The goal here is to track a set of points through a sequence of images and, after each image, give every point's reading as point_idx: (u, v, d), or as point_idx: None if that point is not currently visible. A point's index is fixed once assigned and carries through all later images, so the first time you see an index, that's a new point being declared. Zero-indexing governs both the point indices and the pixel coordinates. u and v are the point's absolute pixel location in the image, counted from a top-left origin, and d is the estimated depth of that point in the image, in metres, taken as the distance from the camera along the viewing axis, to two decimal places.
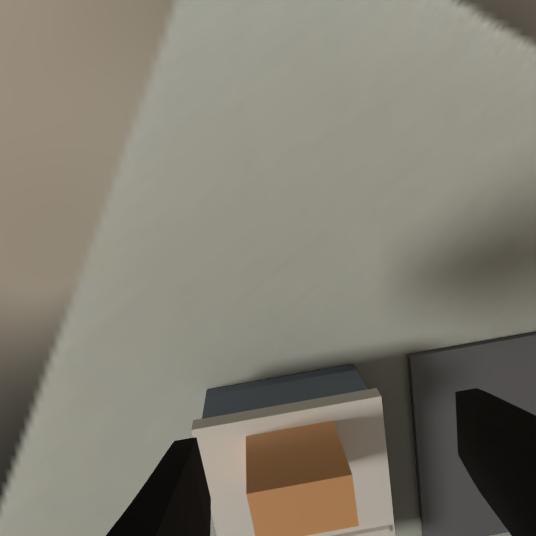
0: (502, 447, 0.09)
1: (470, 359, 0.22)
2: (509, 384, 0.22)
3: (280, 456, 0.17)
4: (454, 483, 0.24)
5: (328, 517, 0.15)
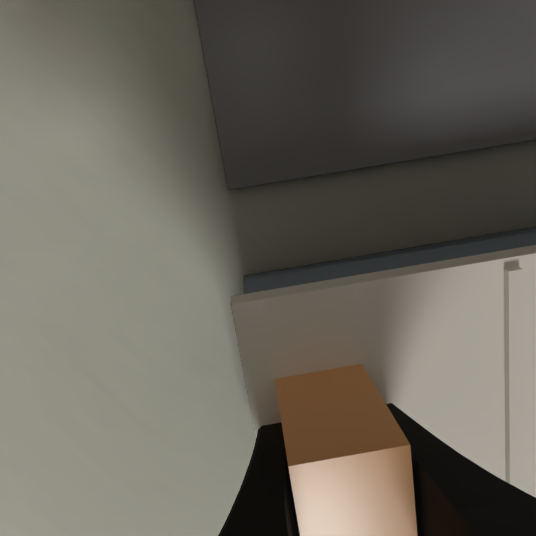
0: None
1: (234, 77, 0.12)
2: None
3: None
4: (489, 79, 0.13)
5: (381, 497, 0.08)
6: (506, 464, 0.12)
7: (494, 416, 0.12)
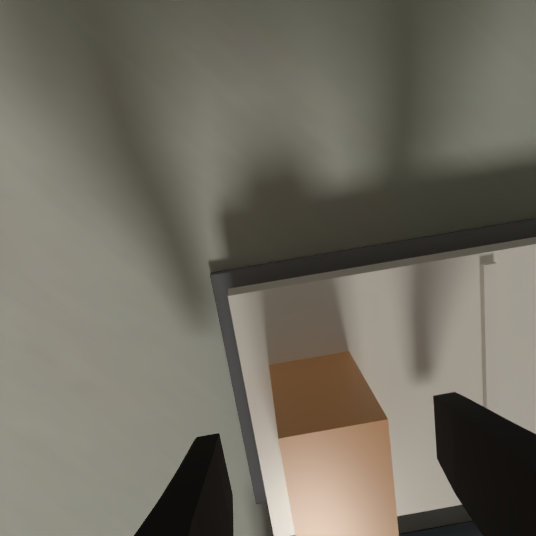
0: (475, 452, 0.09)
1: None
2: None
3: None
4: None
5: (362, 467, 0.09)
6: None
7: (473, 400, 0.13)
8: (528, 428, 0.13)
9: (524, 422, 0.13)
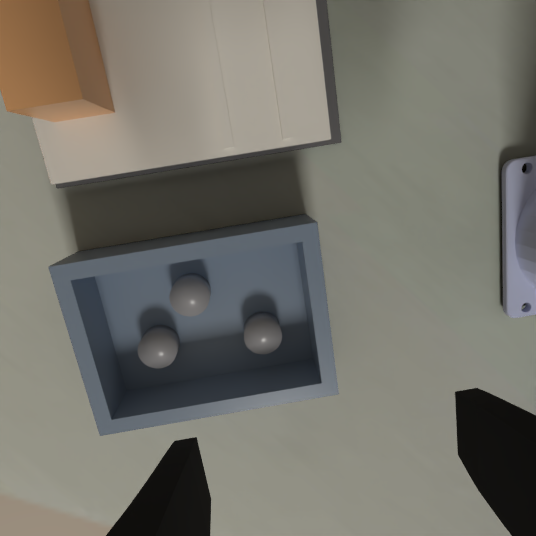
0: (502, 447, 0.09)
1: None
2: None
3: None
4: None
5: None
6: (214, 97, 0.16)
7: (199, 53, 0.16)
8: (250, 84, 0.16)
9: (246, 78, 0.16)
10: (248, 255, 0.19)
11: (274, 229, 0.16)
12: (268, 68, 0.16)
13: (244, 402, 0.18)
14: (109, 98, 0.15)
